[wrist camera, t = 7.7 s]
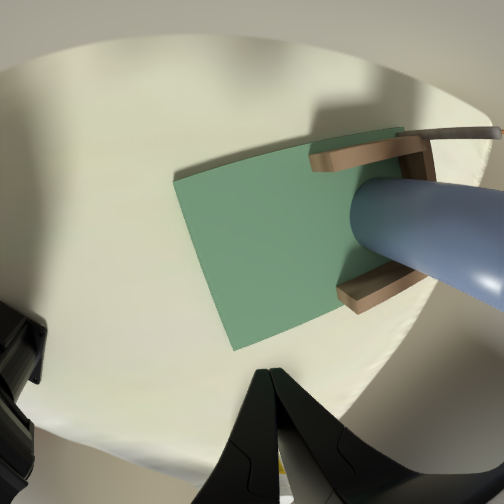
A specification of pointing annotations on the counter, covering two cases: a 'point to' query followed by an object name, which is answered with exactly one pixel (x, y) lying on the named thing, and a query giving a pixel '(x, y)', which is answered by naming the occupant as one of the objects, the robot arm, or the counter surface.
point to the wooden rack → (412, 167)
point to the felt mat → (279, 235)
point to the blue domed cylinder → (436, 231)
